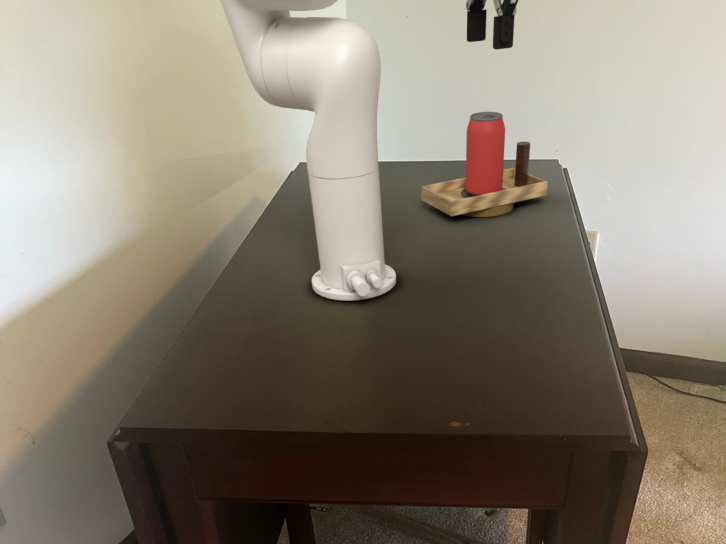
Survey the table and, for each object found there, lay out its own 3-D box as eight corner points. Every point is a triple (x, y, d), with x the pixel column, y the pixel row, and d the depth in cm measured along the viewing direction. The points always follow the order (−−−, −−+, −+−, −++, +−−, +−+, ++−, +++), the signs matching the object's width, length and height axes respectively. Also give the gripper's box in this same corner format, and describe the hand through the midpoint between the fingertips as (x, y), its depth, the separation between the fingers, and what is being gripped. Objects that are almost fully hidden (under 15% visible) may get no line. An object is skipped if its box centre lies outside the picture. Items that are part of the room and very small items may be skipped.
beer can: (509, 190, 122) (513, 113, 114) (487, 199, 118) (489, 121, 110) (480, 184, 125) (483, 109, 117) (458, 193, 122) (458, 116, 114)
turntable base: (524, 211, 121) (524, 202, 120) (468, 220, 119) (468, 211, 118) (497, 194, 129) (497, 185, 128) (444, 203, 126) (444, 194, 125)
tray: (451, 216, 116) (451, 167, 111) (421, 200, 123) (420, 152, 118) (546, 195, 122) (551, 147, 117) (512, 180, 129) (515, 135, 124)
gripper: (446, -101, 100) (446, 40, 112) (497, -105, 88) (491, 54, 100) (491, -104, 102) (487, 36, 114) (547, -108, 90) (536, 49, 102)
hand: (489, 44), depth 107 cm, fingers open, 9 cm apart
